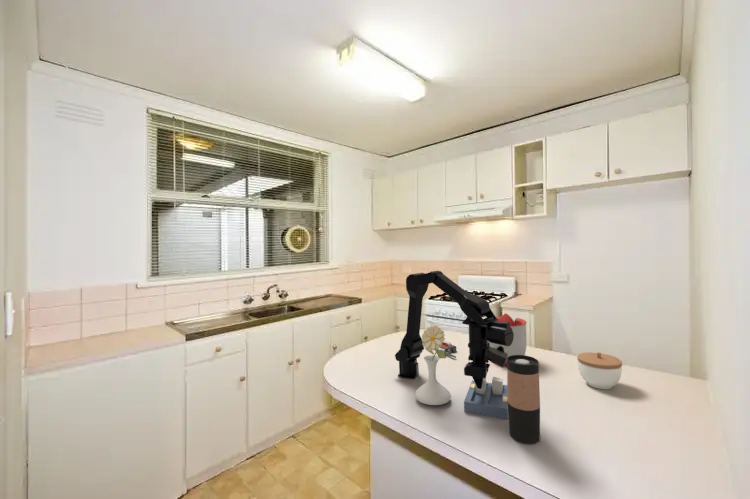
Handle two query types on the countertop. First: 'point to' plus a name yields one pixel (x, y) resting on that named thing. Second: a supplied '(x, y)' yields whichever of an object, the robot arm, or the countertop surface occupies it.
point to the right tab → (497, 386)
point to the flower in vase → (433, 369)
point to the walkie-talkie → (448, 348)
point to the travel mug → (523, 398)
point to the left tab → (483, 389)
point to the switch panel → (487, 402)
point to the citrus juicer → (519, 336)
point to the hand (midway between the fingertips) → (479, 388)
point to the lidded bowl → (599, 369)
